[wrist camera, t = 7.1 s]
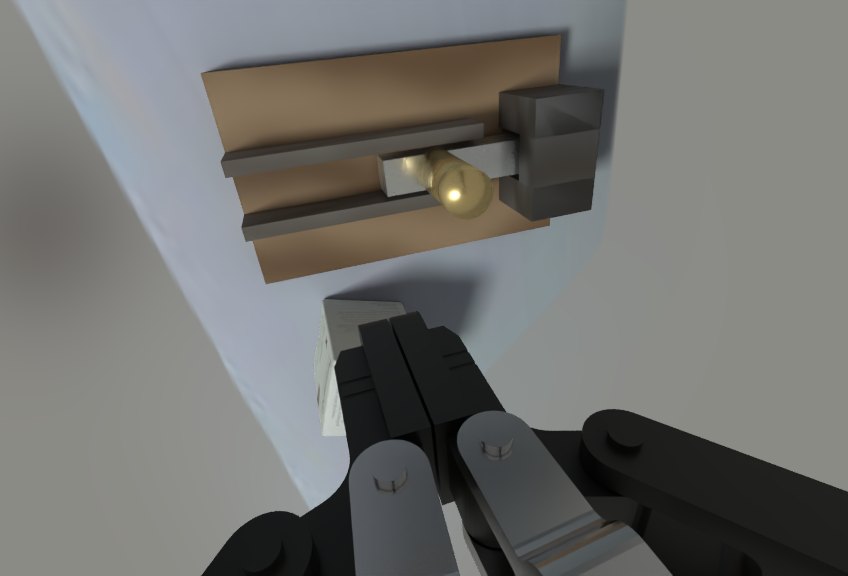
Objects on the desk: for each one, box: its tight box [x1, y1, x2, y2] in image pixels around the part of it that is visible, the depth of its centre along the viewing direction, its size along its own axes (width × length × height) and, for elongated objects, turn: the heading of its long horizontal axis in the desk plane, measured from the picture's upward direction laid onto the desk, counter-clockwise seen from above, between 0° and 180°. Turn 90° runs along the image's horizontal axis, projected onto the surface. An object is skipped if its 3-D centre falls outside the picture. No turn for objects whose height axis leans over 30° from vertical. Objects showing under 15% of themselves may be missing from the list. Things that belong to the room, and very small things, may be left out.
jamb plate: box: [201, 35, 604, 284], centre depth 25 cm, size 12×20×6 cm, turn 95°
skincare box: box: [313, 299, 407, 436], centre depth 30 cm, size 6×6×7 cm
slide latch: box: [376, 132, 520, 220], centre depth 24 cm, size 2×11×7 cm, turn 95°
